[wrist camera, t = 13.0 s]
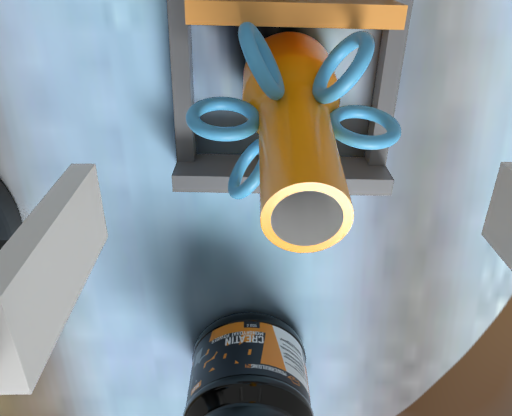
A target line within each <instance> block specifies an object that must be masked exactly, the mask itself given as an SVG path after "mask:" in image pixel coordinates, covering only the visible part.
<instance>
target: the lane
mask: <svg viewBox="0 0 512 416" xmlns="http://www.w3.org/2000/svg"><path fill="white" fill-rule="evenodd" d="M394 1H397V2H400V3H403V4H405V5H408V9H407V15H406V22H405V28H404V30H387V29H383V30H382V37H381V44H380V51H379V58H378V65H377V72H376V79H375V86H374V93H373V100H372V107H373V108H376V109H379V110H382V111H384V112H386V113H388V114H390V115H391V116H392V117H394V112H395V106H396V100H397V95H398V89H399V83H400V77H401V71H402V65H403V59H404V53H405V47H406V41H407V35H408V29H409V23H410V17H411V12H412V6H413V0H394ZM167 12H168V28H169V44H170V60H171V76H172V92H173V108H174V124H175V140H176V156H177V163H176V165H175V168H174V171H173V174H172V187H173V192H216V193H229V192H228V182H229V178H230V175H231V172H232V170H233V168H234V166H235V164H236V162H237V161H238V159H239V157H240V156H241V155H242V154H196V140H195V133H194V132H193V131H192V130H191V129H190V128H189V127H188V125H187V122H186V113H187V111H188V109H189V108H190V107H191V106H192V105H193V104H194V91H193V66H192V42H191V25H186V24H185V2H184V0H167ZM386 132H387V130H386V129H385V128H384V127H383V126H381V125H380V124H378V123H376V122H373V121H369V128H368V135H371V136H375V135H382V134H385V133H386ZM388 148H389V147H387V148H384V149H378V150H366V149H365V156H364V157H343V156H340V159H341V163H342V167H343V171H344V175H345V179H346V183H347V187H348V190H349V194H350V195H373V196H391V195H392V189H393V184H394V179H393V177H392V176H391V174H390V172H389V171H388V169H387V167H386V160H387V154H388ZM258 160H259V155H256V156H255V157H254V159H253V160H252V161H251V163H250V164H249V165H248V167H247V169H246V171H245V173H244V175H243V177H242V180H241V183H240V185H241V184H242V183H243V182H244V181H245V180H246V179H247V178H248V177H249V176H250V174H251V173H252V171H253V170H254V168H255V166H256V165H257V163H258ZM252 193H260V184H259V186H258V187H257V188H256V189H255V190H254V191H253V192H252Z"/></svg>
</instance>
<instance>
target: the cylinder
mask: <svg viewBox="0 0 512 416" xmlns="http://www.w3.org/2000/svg"><path fill="white" fill-rule="evenodd" d="M238 37H239V42H240V45H241V49H242V51H243V54H244V57H245V59H246V63H245V66H244V73H243V92H242V100H240V99H236V98H230V97H212V98H207V99H203V100H200V101H198V102H196V103H195V104H193V105H192V106H191V107H190V108H189V109H188V111H187V113H186V122H187V125H188V127H189V128H190V129H191V130H192V131H193V132H194V133H196V134H197V135H199V136H201V137H203V138H206V139H210V140H214V141H237V140H241V139H245V138H247V137H249V136H251V135H253V134H254V133H255V132H257V133H258V134H259V138H258V139H256V140H255V141H254V142H252V143H251V144H250V145H249V146H248V147H247V148H246V149H245V151H244V152H243V153H242V155H241V156H240V157H239V159H238V161H237V162H236V164H235V166H234V168H233V170H232V172H231V175H230V178H229V182H228V192H229V194H230V196H231V197H232V198H234V199H242V198H245V197H247V196H248V195H249V194H251V193H252V192H253V191H254V190H255V189H256V188H257V187H258V186H259V184H260V222H261V228H262V230H263V233H264V234H265V236H266V237H267V238H268V239H269V240H270V241H271V242H272V243H273V244H274V245H276V246H278V247H280V248H282V249H284V250H287V251H291V252H297V253H310V252H317V251H321V250H324V249H327V248H329V247H331V246H333V245H335V244H336V243H338V242H339V241H340V240H342V239H343V238H344V237H345V236H346V234H347V233H348V232H349V230H350V228H351V226H352V224H353V220H354V210H353V206H352V202H351V198H350V194H349V190H348V187H347V183H346V179H345V175H344V171H343V167H342V163H341V159H340V155H339V151H338V147H337V143H336V139H337V140H338V141H340V142H342V143H344V144H346V145H348V146H351V147H355V148H359V149H366V150H378V149H384V148H387V147H390V146H392V145H393V144H395V143H396V142H397V141H398V140H399V138H400V136H401V127H400V125H399V123H398V122H397V120H396V119H395V118H394V117H392V116H391V115H390V114H388V113H386V112H384V111H382V110H379V109H376V108H373V107H369V106H362V105H348V106H343V107H339V104H340V98H341V97H342V96H344V95H345V94H346V93H347V92H348V91H349V90H350V89H351V88H352V87H353V86H354V85H355V84H356V83H357V82H358V80H359V79H360V78H361V76H362V75H363V74H364V72H365V71H366V69H367V67H368V65H369V63H370V61H371V59H372V56H373V53H374V48H375V42H374V39H373V37H372V35H371V34H370V33H368V32H366V31H359V32H355V33H353V34H351V35H349V36H348V37H346V38H345V39H344V40H343V41H341V42H340V43H339V44H338V45H337V46H336V47H335V48H334V49H333V50H332V52H331V53H330V54H329V55H328V53H327V51H326V50H325V48H324V47H323V46H322V45H321V44H320V43H319V42H318V41H317V40H315V39H314V38H312V37H311V36H308V35H306V34H303V33H299V32H281V33H277V34H274V35H271V36H269V37H267V38H265V39H264V37H263V36H262V34H261V33H260V31H259V30H258V29H257V27H256V26H255V25H254V24H252V23H250V22H244V23H242V24H241V25H240V26H239V29H238ZM358 47H359V49H358V52H357V54H356V56H355V58H354V60H353V62H352V63H351V65H350V66H349V68H348V69H347V71H346V72H345V73H344V74H343V75H342V76H341V78H340V79H339V80H338V81H337V78H336V74H335V71H334V70H335V69H336V67H337V66H338V65H339V64H340V62H341V61H342V60H343V59H344V58H345V57H346V56H347V55H348V54H349V53H350V52H352V51H353V50H354V49H356V48H358ZM216 110H228V111H234V112H237V113H240V114H242V115H244V116H245V117H246V118H247V122H245V123H244V124H241V125H238V126H233V127H218V126H213V125H210V124H207V123H205V122H203V121H202V120H201V119H200V116H201V115H203V114H205V113H207V112H210V111H216ZM349 118H361V119H367V120H370V121H373V122H376V123H378V124H380V125H381V126H383V127H384V128H385V129H386V130H387V132H386V133H385V134H382V135H375V136H371V135H362V134H358V133H355V132H352V131H350V130H348V129H346V128H344V127H343V126H342V125H341V124H340V121H342V120H344V119H349ZM258 153H259V160H258V163H257V165H256V166H255V168H254V170H253V171H252V173H251V174H250V176H249V177H248V178H247V179H246V180H245V181H244V182H243V183H242V184H241V185H240V183H241V180H242V177H243V175H244V173H245V171H246V169H247V167H248V165H249V164H250V163H251V161H252V160H253V159H254V157H255V156H256V155H257V154H258Z"/></svg>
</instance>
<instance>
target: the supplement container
mask: <svg viewBox="0 0 512 416" xmlns="http://www.w3.org/2000/svg"><path fill="white" fill-rule="evenodd" d="M192 360H193V363H192V370H191V377H190V383H189V390H188V397H187V403H186V407H185V410H184V413H183V416H314V415H313V411H312V408H311V403H310V395H309V387H308V379H307V371H306V356H305V350H304V346H303V344H302V341H301V339H300V338H299V336H298V335H297V333H296V332H295V331H294V330H293V329H292V328H291V327H290V326H289V325H287V324H286V323H284V322H283V321H281V320H279V319H277V318H275V317H272V316H269V315H266V314H261V313H237V314H232V315H229V316H226V317H223V318H221V319H219V320H217V321H215V322H214V323H212V324H211V325H209V326H208V327H207V328H206V329H205V330H204V331H203V332H202V334H201V335H200V336H199V338H198V340H197V342H196V344H195V347H194V351H193V358H192Z"/></svg>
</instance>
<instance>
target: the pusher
mask: <svg viewBox="0 0 512 416" xmlns="http://www.w3.org/2000/svg"><path fill="white" fill-rule="evenodd" d="M184 2H185V24H186V25H221V26H240V25H241V24H242V23H244V22H250V23H252V24H254V25H255V26H263V27H304V28H346V29H387V30H404V28H405V22H406V15H407V9H408V5H405V4H403V3H400V2H397V1H394V0H184Z"/></svg>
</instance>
